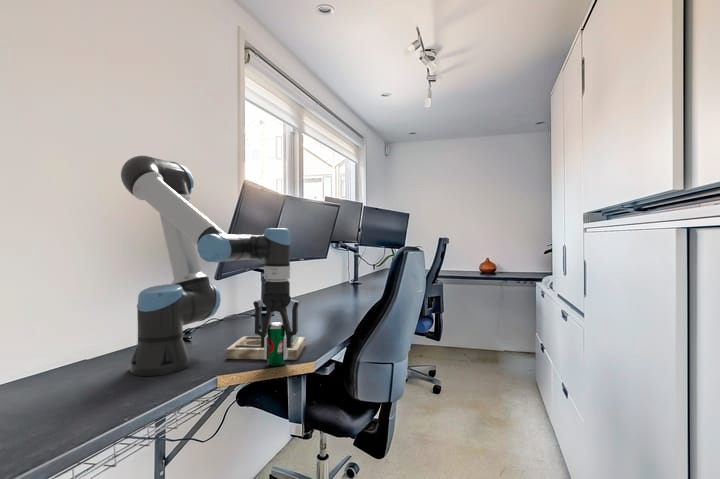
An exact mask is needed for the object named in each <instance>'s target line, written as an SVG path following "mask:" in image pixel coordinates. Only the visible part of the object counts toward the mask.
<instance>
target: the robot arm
mask: <svg viewBox="0 0 720 479" xmlns="http://www.w3.org/2000/svg"><path fill="white" fill-rule="evenodd" d="M120 178H121V182H122V184H123V186H124V187H125V189H126V190H127V191H128V192H129V193H130V194H131V195H132V196H134V198H136V199H138V200H140V201H145V202H146V203H147V204H149V205H150V207H152V208H153V210H155V211H156V212H158V213H159V217H160V221H161V226H162V230H163V236H164V239H165V244H166V248H167V254H168V258H169V262H170V266H171V270H172V276H173V280H172V282H171V283H169V284H161V285H153V286H149V287H148V288H144V289H142V290H141V291H140V292H139V293H138V296H137V304H136V309H137V344H136V346H135V349H134V353H133V356H132V357H131V361H130V363H129V364H130V366H129V369H130V370H129V372H130V374H132V375H135V376H138V377H139V376H142V377H153V376H156V377H157V376H163V375H169V374H173V373H176V372H179V371H181V370H184V369H185V368H187V367H189V364H190V356H189V353H188V351H187V350H188V349H187V347H186V344H185V342H184V340H183V332H184V331H183V326H187V325H191V324H194V323H197V322H203V321H205V320H208V319H209V318H212V317H213V316H214V315H215V314H216V313H217V312H218V310H219V308H220V305H221V301H222V300H221V297H222V296H221V294H220V291H219V288H218V287H217V286H215V284H212V283H211V282H210V278H209V275H207V274H205V273H203V270H202V265H201V261H200V258H201V259H202V260H203V261H205V262H207V263H208V262H209V263H223V262H231V261H246V260H260V261H262V260H263V263H264V266H263V268H264V269H263V279H264V280H265V281H263V296H262V298H261V299H256V300H255V301H253V302H252V304H253V307H254V309H255V310H254V312H255V313H254V335H255V336H256V335H257V336H261V347H264V359H263V360H267V350H268V327H269V324H270V323H271V319H272V317H273V316H272V315H273V313H274V312H278V313H279V314H280V316H281V319H282V320H281V321H282V323H283V325H284V329H285V337H284V351H283V360H285V361H286V359H287V358H288V348H290V347H291V337H292V336H293V335H296V334H297V335H298V331H299V317H298V316H299V314H298V313H299V312H298V310H299V309H298V308H299V306H300V301H299V300H294V299H292V297H291V295H290V294H291V292H290V290H291V289H290V288H291V287H290V286H291V285H290V284H291V282H290V281H289V280H290V279H291V262H290V261H291V260H290V259H291V258H290V257H291V244H292V243H291V232H290V230H289V229H288V228H279V227H277V228H272V227H270V228H265V229H264V233H263V234H240V233H239V234H232V233H230V234H229V233H226V232H225V231H224V230H222V229H221V228H220V227H219V226H217V225H216V224H215V223H214V222H213V221H212V220H210V219H209V218H208V217H207V216H206V215H204V213H202V212H201V211H199V209H197V208H196V207H195V206H193V205H192V204H191V203H190V202H189V200H190V199H191V196H190V195H191V194H192V192H193V188H194V186H195V185H194V183H195V182H194V177H193V174H192V173H191V171H190V170H189V169H188V167H186V166H185V165H182V164H180V163H177V162H175V161H168V160H164V159H160V158H156V157H152V156H148V155H137V156H136V155H135V156H133V157H131V158H129V159H128V160H126V161H125V162H124V164H123V165H122V167H121V171H120ZM263 304H264V306H265V307H266V313H265V317H264V320H263V325H262V307H263ZM289 305H290V307H291V308H292V310H291V313H292V314H291V319H292V320H291V321H292V322H291V324H290V319H289V316H288V311H287V308H288V306H289Z"/></svg>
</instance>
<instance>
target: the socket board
mask: <svg viewBox="0 0 720 479" xmlns="http://www.w3.org/2000/svg"><path fill="white" fill-rule="evenodd" d="M297 337H298V340H297V341H296V343H295V344H294V345H293V347H292V345H291V347H290V348H288V358H287V359H286V360H290V361H292V360H293V361H294V360H296V361H297V360H298V358H299V357H300V355H301V353H302V352H303V350H304V349H305V347H306V337H305V336H297ZM227 359H230V360H265V359H264V347H261V336H260V335H257V336H256V335H255V336H253V335H250V336H247V335H245V336H242V337H240V338H239V339H238V340H236V341H235V342H234V343H233V344H231V345H230V346H229V347H227V348H226V360H227ZM286 360H285V361H286Z"/></svg>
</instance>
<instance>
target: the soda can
mask: <svg viewBox="0 0 720 479" xmlns="http://www.w3.org/2000/svg"><path fill="white" fill-rule="evenodd" d="M267 335H268V350H267V359H266V360H267V364H268V366H271V367H279V366H280V367H281V366H282V365H284V364H285V361H286V360H283V351H284V337H285V336H286V333H285V329H284V325H283V322H279V321H278V322H270V323H269V327H268V331H267Z"/></svg>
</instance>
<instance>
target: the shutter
mask: <svg viewBox="0 0 720 479" xmlns="http://www.w3.org/2000/svg"><path fill="white" fill-rule="evenodd" d="M298 337H299V336H298V333H297V334H296V335H293V336H292V337H291V345H292V347H293V345H294V344H295V343H296V341H297V340H298Z"/></svg>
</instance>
